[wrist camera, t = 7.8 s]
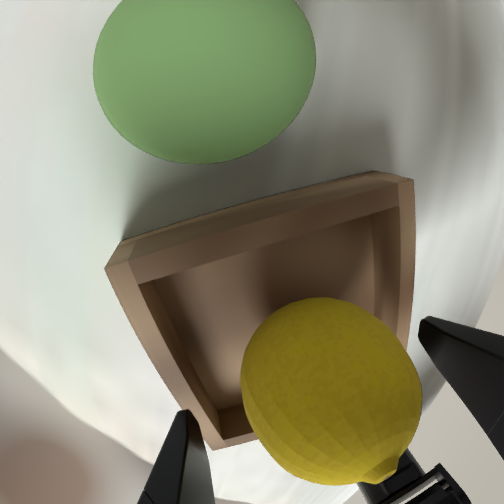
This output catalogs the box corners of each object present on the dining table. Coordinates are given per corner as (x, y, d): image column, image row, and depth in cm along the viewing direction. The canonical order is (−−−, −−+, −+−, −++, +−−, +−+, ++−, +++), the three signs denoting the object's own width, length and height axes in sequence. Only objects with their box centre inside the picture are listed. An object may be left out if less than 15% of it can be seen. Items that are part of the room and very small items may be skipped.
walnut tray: (378, 352, 15) (401, 378, 13) (206, 415, 14) (212, 450, 12) (374, 170, 11) (413, 179, 9) (120, 241, 10) (104, 268, 8)
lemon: (355, 325, 13) (459, 439, 6) (261, 385, 13) (322, 526, 6) (316, 236, 11) (482, 365, 4) (195, 313, 11) (240, 518, 4)
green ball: (291, 139, 10) (386, 141, 5) (141, 179, 9) (94, 219, 4) (257, 7, 8) (316, -76, 3) (108, 41, 7) (52, -32, 2)
